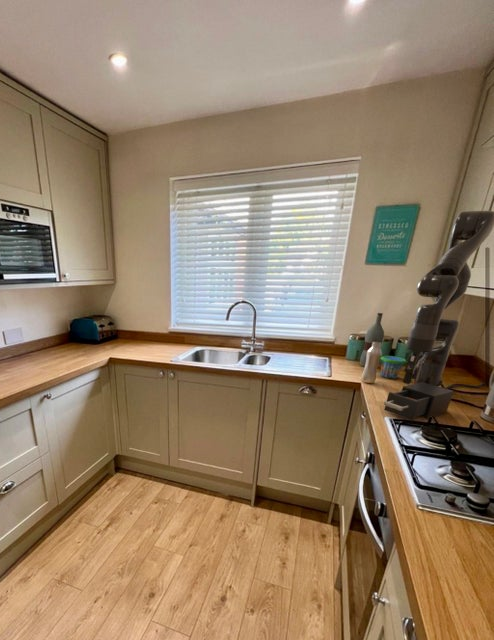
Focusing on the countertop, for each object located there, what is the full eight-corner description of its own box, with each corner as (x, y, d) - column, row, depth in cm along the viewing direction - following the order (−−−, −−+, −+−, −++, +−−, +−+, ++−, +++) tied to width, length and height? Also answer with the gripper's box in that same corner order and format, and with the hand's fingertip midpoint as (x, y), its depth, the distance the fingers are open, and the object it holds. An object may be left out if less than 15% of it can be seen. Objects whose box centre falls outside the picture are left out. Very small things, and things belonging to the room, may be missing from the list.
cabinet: (427, 418, 125) (434, 396, 122) (396, 407, 135) (403, 386, 131) (446, 412, 131) (454, 390, 128) (416, 402, 140) (422, 382, 137)
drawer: (402, 423, 119) (408, 404, 116) (375, 412, 127) (380, 394, 124) (430, 414, 126) (436, 396, 124) (402, 404, 135) (407, 388, 132)
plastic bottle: (367, 384, 160) (377, 344, 153) (356, 380, 166) (366, 341, 159) (377, 384, 162) (388, 343, 154) (367, 379, 168) (377, 340, 161)
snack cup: (404, 376, 175) (410, 358, 171) (407, 382, 166) (413, 362, 162) (371, 372, 181) (376, 354, 177) (372, 377, 172) (377, 358, 168)
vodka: (371, 368, 187) (385, 314, 176) (355, 364, 194) (367, 312, 183) (379, 366, 192) (392, 313, 181) (363, 362, 199) (375, 311, 188)
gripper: (431, 340, 107) (417, 388, 113) (438, 335, 116) (425, 379, 122) (405, 337, 111) (392, 382, 117) (414, 332, 121) (402, 374, 127)
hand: (409, 380), depth 120 cm, fingers open, 8 cm apart
